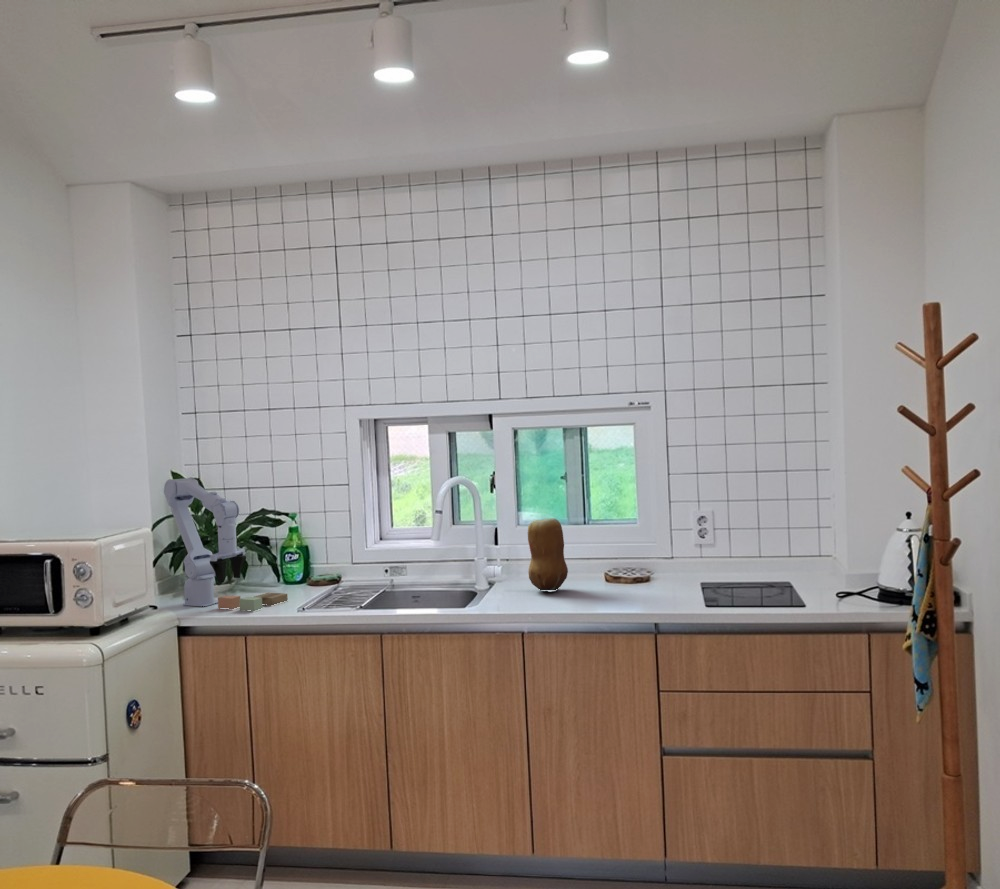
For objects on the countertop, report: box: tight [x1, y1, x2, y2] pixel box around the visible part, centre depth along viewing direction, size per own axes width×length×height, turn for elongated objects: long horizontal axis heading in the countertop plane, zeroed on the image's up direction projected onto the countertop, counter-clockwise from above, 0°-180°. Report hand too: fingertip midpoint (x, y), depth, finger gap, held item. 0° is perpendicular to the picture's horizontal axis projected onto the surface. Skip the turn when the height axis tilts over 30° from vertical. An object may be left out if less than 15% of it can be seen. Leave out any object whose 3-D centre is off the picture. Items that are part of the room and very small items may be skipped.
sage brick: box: [239, 596, 263, 611], centre depth 310 cm, size 6×4×4 cm, turn 64°
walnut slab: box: [253, 592, 288, 606], centre depth 321 cm, size 8×8×3 cm
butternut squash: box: [527, 518, 569, 591], centre depth 322 cm, size 14×13×25 cm
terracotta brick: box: [217, 594, 241, 609], centre depth 313 cm, size 6×4×4 cm, turn 64°
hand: (229, 579), depth 313 cm, fingers open, 7 cm apart
